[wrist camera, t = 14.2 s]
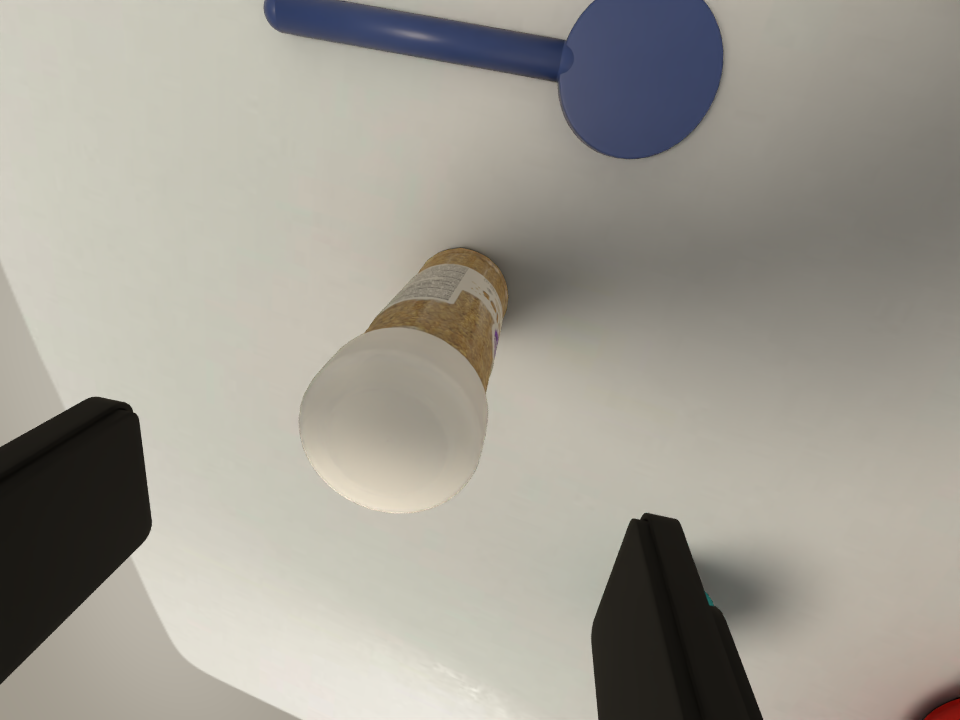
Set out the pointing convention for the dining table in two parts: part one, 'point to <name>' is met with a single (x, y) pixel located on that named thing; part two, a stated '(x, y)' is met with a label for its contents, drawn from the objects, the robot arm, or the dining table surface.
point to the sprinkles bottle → (410, 390)
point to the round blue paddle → (560, 60)
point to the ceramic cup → (946, 711)
